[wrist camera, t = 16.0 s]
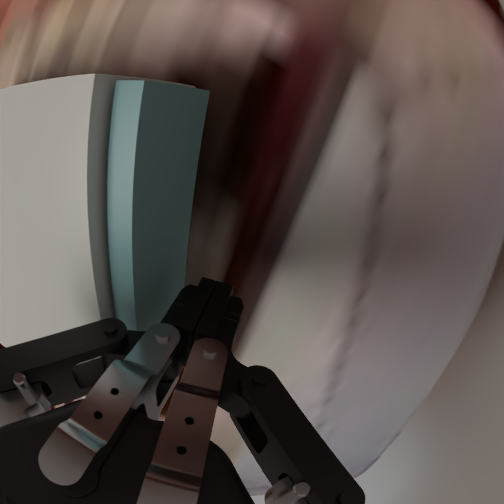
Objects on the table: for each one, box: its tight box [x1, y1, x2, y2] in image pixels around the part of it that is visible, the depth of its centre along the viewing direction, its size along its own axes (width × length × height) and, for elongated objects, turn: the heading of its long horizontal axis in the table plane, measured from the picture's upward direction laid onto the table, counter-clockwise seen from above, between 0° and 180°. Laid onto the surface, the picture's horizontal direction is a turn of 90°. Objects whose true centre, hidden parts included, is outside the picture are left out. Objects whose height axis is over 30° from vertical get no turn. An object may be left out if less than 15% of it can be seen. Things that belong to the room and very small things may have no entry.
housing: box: [0, 74, 195, 399], centre depth 14 cm, size 18×16×8 cm
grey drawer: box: [107, 80, 210, 331], centre depth 14 cm, size 18×16×6 cm
